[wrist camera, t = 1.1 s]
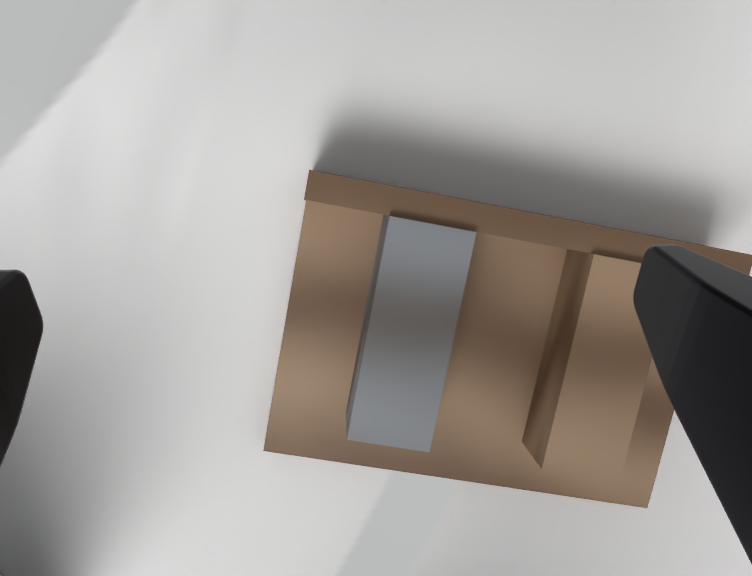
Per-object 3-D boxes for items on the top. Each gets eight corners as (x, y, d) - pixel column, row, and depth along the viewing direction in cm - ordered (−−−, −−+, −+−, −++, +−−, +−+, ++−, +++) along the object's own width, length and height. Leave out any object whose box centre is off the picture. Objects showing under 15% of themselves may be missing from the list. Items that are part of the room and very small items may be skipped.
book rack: (638, 498, 27) (679, 541, 24) (265, 442, 26) (256, 480, 23) (705, 246, 26) (760, 256, 23) (312, 170, 24) (309, 169, 21)
